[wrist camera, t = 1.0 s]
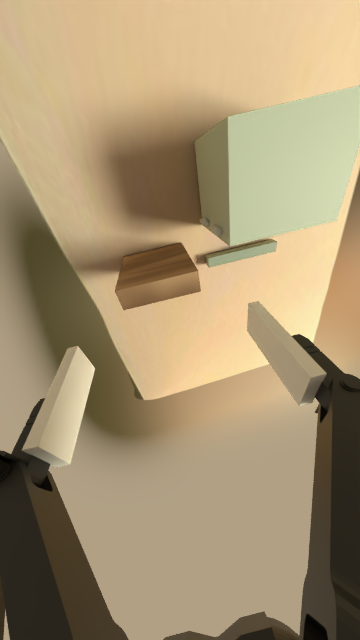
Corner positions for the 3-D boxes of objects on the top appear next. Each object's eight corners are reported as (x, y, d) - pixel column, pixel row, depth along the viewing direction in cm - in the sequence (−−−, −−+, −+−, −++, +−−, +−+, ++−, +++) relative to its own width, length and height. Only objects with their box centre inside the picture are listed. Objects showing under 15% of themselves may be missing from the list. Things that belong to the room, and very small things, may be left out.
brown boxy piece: (123, 256, 28) (114, 291, 20) (181, 242, 28) (198, 270, 20) (131, 277, 30) (126, 316, 22) (185, 264, 31) (201, 298, 22)
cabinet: (187, 143, 22) (216, 119, 13) (285, 119, 22) (379, 80, 13) (201, 265, 31) (224, 298, 22) (270, 248, 31) (320, 275, 22)
